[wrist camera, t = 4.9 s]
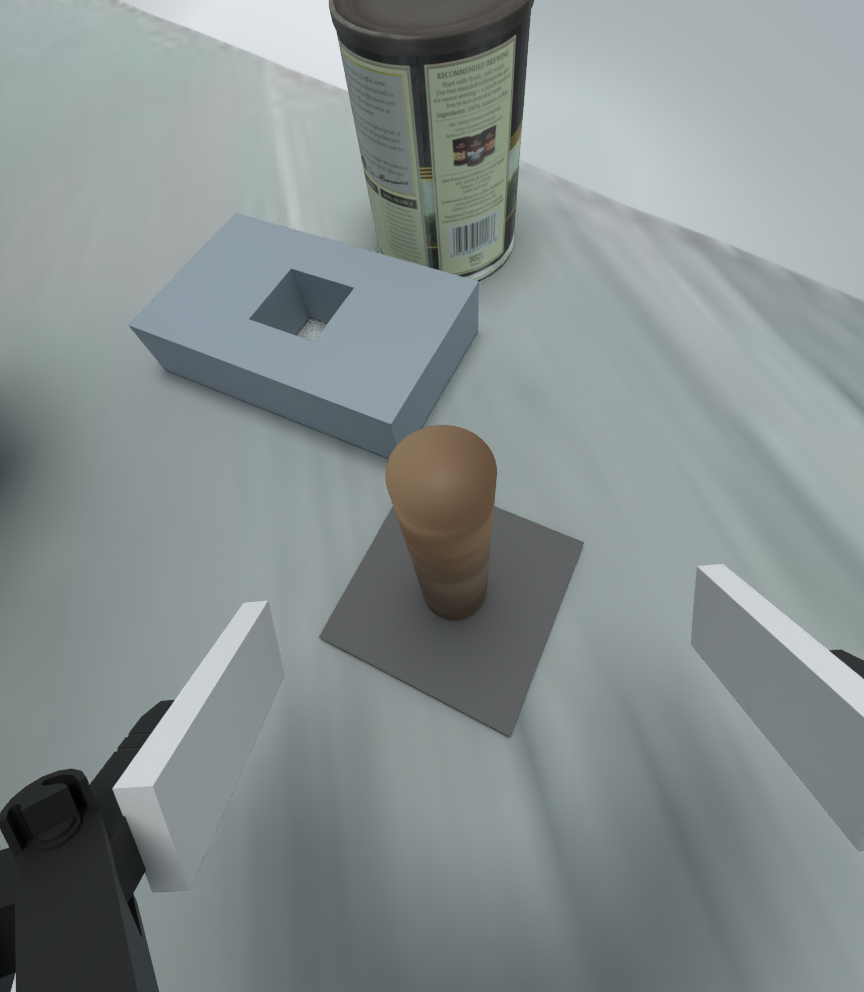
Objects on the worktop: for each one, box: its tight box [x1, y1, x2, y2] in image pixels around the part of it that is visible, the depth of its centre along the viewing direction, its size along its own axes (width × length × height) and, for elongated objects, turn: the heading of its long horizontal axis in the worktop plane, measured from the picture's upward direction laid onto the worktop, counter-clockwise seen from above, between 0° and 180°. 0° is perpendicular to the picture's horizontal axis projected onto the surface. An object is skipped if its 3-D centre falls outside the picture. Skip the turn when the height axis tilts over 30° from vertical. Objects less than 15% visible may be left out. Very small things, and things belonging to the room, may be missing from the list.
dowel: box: [385, 425, 497, 621], centre depth 20 cm, size 3×3×12 cm
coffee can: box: [329, 0, 534, 281], centre depth 31 cm, size 10×10×14 cm
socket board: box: [129, 213, 479, 459], centre depth 31 cm, size 18×11×4 cm, turn 64°
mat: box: [319, 506, 584, 737], centre depth 25 cm, size 10×10×1 cm
